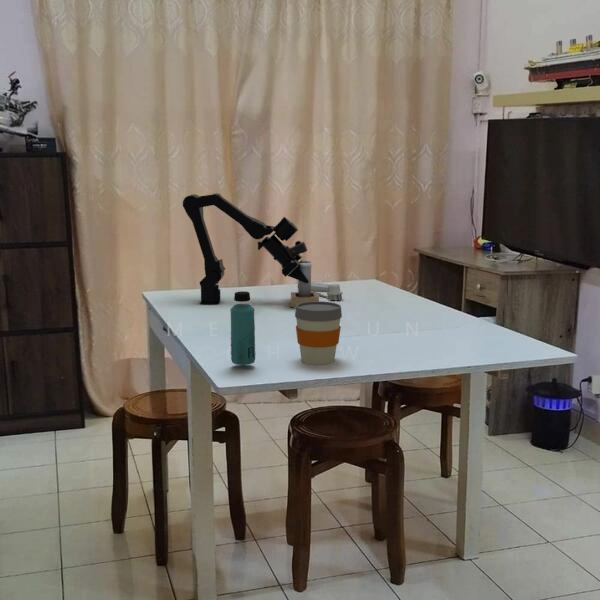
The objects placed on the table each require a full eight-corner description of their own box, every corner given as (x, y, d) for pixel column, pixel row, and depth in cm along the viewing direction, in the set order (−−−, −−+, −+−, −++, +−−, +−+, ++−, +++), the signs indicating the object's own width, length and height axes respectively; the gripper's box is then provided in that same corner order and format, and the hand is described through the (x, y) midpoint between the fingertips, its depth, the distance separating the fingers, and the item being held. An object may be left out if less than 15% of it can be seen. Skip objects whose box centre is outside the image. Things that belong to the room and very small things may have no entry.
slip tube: (302, 302, 282) (302, 263, 279) (294, 300, 286) (294, 261, 284) (314, 301, 285) (315, 262, 282) (306, 298, 289) (307, 260, 286)
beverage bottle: (249, 371, 204) (248, 295, 200) (226, 368, 207) (225, 293, 203) (259, 365, 210) (259, 290, 206) (237, 362, 213) (236, 288, 209)
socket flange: (291, 307, 281) (291, 297, 280) (290, 301, 291) (290, 292, 290) (319, 307, 281) (319, 297, 280) (317, 301, 291) (317, 292, 290)
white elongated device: (306, 280, 314) (344, 281, 293) (307, 297, 314) (345, 299, 293) (295, 281, 311) (333, 282, 290) (296, 298, 311) (334, 300, 290)
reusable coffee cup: (296, 367, 209) (296, 311, 206) (292, 354, 221) (293, 301, 218) (344, 366, 210) (345, 310, 207) (337, 353, 222) (338, 300, 219)
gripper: (291, 237, 272) (323, 270, 273) (296, 231, 290) (325, 261, 292) (268, 259, 274) (300, 292, 276) (274, 252, 292) (304, 282, 294)
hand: (308, 281), depth 284 cm, fingers closed on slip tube, 4 cm apart
